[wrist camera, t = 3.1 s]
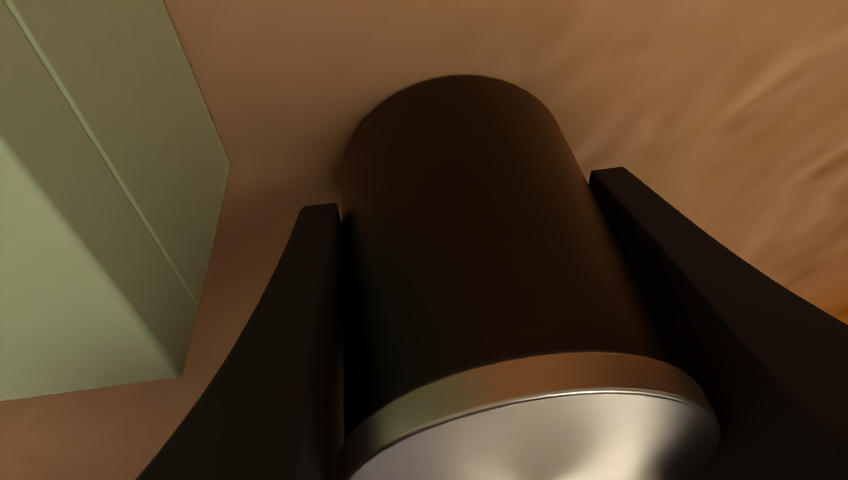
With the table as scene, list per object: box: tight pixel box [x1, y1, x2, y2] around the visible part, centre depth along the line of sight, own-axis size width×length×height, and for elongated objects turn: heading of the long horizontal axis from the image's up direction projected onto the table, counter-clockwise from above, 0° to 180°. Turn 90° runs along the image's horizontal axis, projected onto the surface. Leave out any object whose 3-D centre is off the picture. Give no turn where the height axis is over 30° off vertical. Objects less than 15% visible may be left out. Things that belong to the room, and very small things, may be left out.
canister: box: [337, 76, 721, 480], centre depth 9 cm, size 5×5×6 cm
